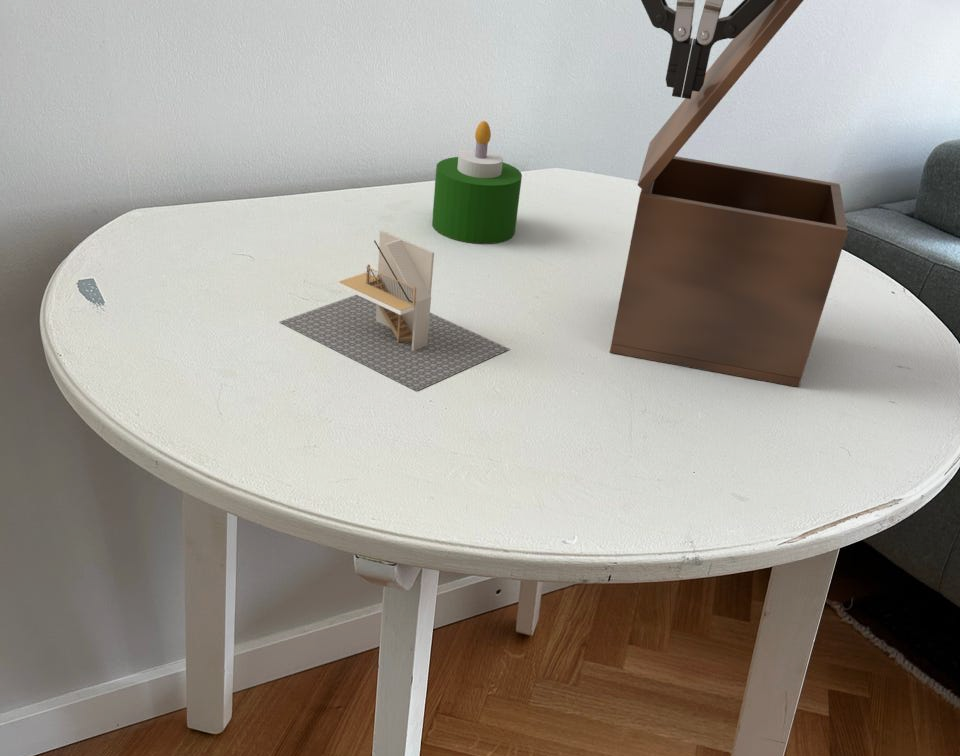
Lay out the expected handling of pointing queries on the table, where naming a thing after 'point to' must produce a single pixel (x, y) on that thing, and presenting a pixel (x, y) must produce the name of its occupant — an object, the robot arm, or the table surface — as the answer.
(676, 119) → the lid
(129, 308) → the table surface
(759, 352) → the toy box
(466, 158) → the candle
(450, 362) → the architectural model
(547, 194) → the table surface
